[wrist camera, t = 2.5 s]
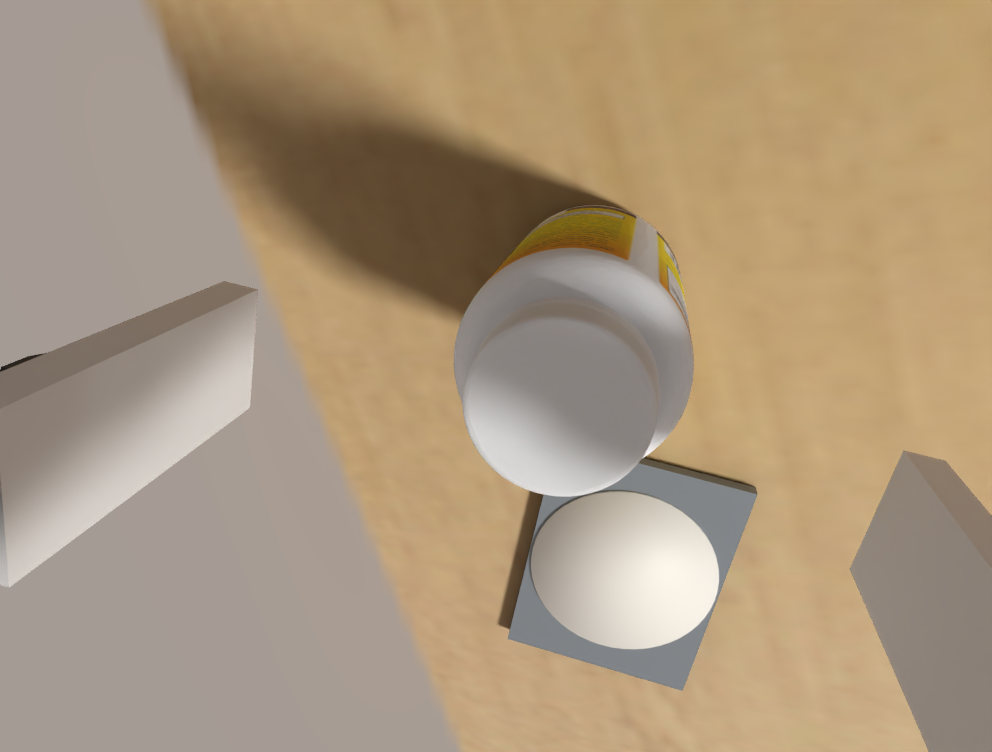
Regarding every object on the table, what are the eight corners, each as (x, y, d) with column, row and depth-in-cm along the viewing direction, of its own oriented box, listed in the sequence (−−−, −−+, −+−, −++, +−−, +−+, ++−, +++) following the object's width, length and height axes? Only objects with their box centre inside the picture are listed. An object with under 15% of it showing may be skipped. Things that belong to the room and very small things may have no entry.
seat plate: (558, 435, 26) (555, 442, 25) (755, 487, 25) (757, 495, 25) (510, 630, 29) (507, 640, 29) (681, 680, 29) (682, 692, 28)
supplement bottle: (478, 293, 25) (370, 411, 15) (588, 164, 23) (541, 211, 13) (599, 400, 25) (567, 578, 16) (720, 283, 23) (764, 410, 14)
